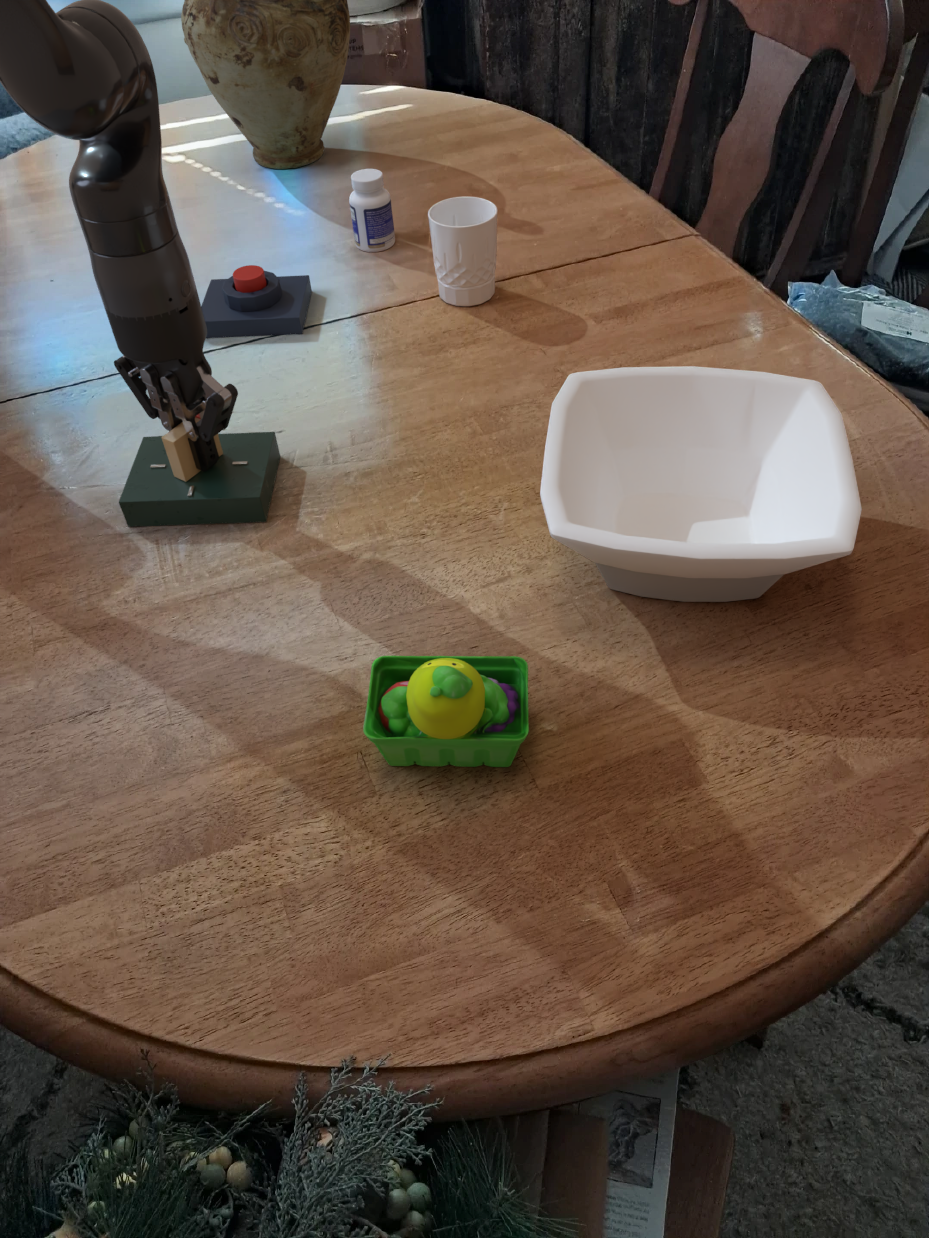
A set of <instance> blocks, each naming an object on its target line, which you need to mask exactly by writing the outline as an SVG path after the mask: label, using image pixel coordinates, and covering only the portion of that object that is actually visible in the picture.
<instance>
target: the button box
mask: <svg viewBox="0 0 929 1238" xmlns="http://www.w3.org/2000/svg"><path fill="white" fill-rule="evenodd" d="M264 274H265V279H266V284H267V285H266V287H264V288H263V289H262V290H259V291H255V292H250V293H242V292H238V291H237V290H236V288H235V283H234V279H233V275H231V276H230V277H228V278H215V279H211V280H210V282H209V285H208V287H207V289H206V292H205V295H204V298H203V300H202V303H201V308H202V312H203V315H204V319H205V323H206V327H207V336H206V339H220V338H221V339H222V338H223V339H224V338H244V337H245V338H246V337H270V336H294V335H303V333H304V328H305V324H306V320H307V316H308V310H309V307H310V302H311V298H312V292H313V291H312V285H311V280H310V279H311V278H310V275H309V274H306V275H305V274H303V275H302V274H301V275H283V276H282V275H281V276H277V275H276V274H275V273H274V272H272V271H268V270H264Z"/></svg>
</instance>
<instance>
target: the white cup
mask: <svg viewBox="0 0 929 1238" xmlns="http://www.w3.org/2000/svg"><path fill="white" fill-rule="evenodd" d="M427 219H428V227H429V233H430V243H431V250H432V258H433V265H434V272H435V276H436V280H437V287H438V294H439V299H441V300H442V301H443V302H444V303H446V304H449V305H452V306H456V307H473V306H477V305H481V304H484V303H486V302H487V301H489V300H491V299H492V297H493V296H494V294H495V293H496V269H497V252H498V251H497V250H498V207H497V205H496V204H495V203H494V202H492V201H491V200H488V199H486V198H483V197H478V196H467V195H466V196H465V195H464V196H453V197H450V198H445V199H443V200H440V201H438V202H436V203H434V204H433V205H432V206H431V207H430V208H429V209H428V211H427Z"/></svg>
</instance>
